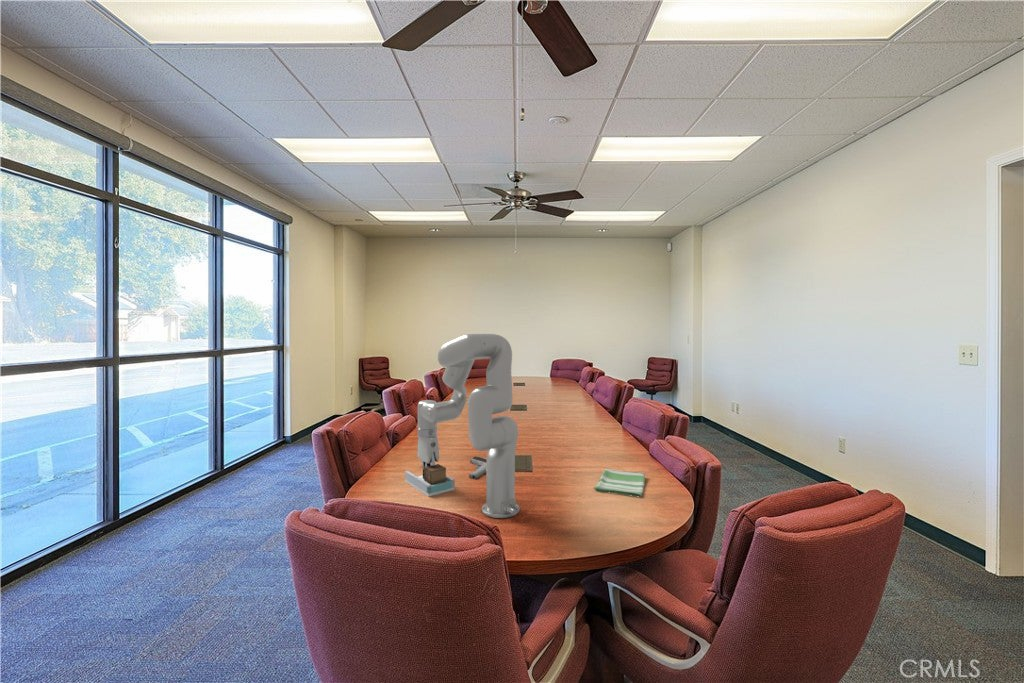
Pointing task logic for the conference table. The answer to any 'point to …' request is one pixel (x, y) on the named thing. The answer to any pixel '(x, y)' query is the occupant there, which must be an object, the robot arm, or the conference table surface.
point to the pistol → (478, 466)
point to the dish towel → (621, 482)
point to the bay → (428, 488)
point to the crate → (435, 474)
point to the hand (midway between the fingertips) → (427, 478)
